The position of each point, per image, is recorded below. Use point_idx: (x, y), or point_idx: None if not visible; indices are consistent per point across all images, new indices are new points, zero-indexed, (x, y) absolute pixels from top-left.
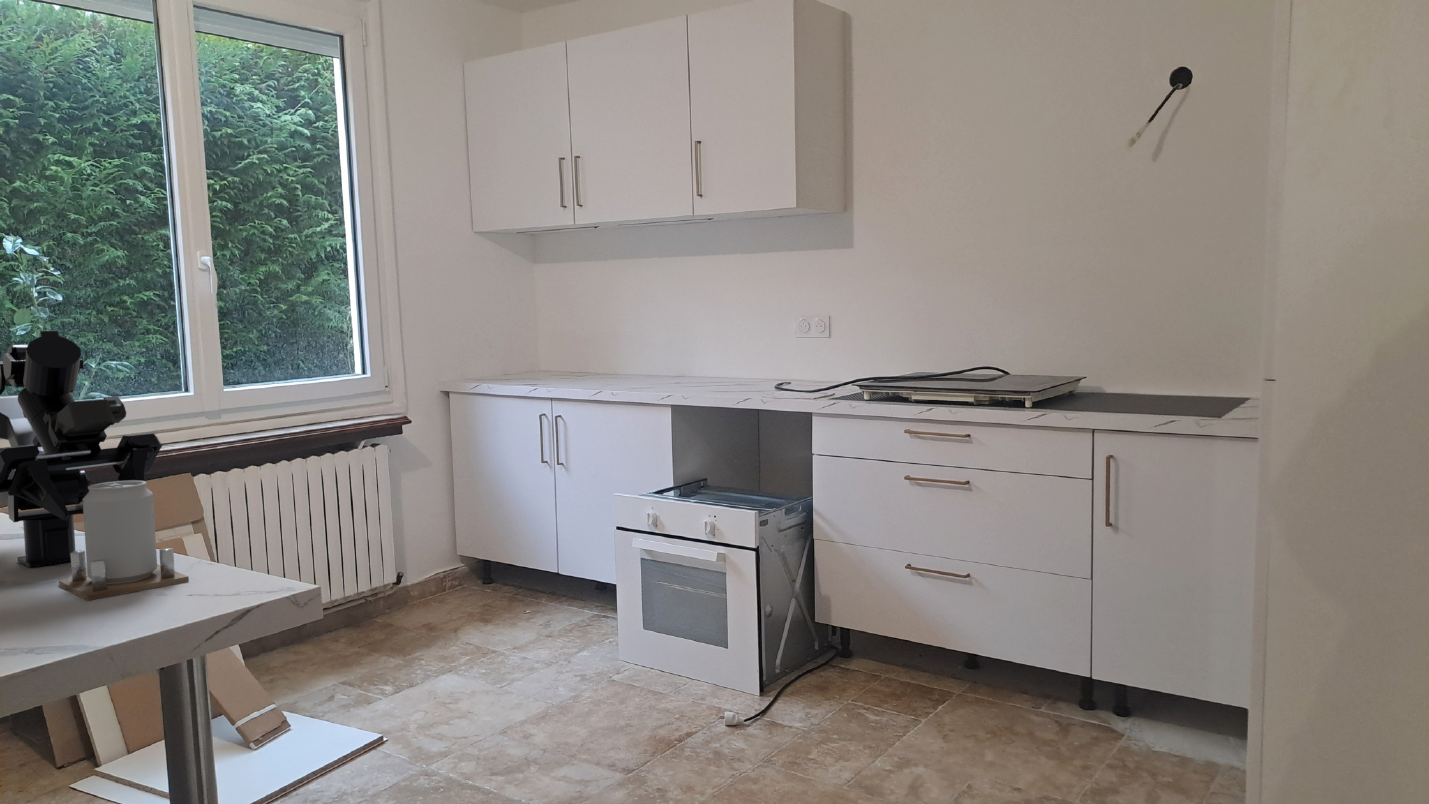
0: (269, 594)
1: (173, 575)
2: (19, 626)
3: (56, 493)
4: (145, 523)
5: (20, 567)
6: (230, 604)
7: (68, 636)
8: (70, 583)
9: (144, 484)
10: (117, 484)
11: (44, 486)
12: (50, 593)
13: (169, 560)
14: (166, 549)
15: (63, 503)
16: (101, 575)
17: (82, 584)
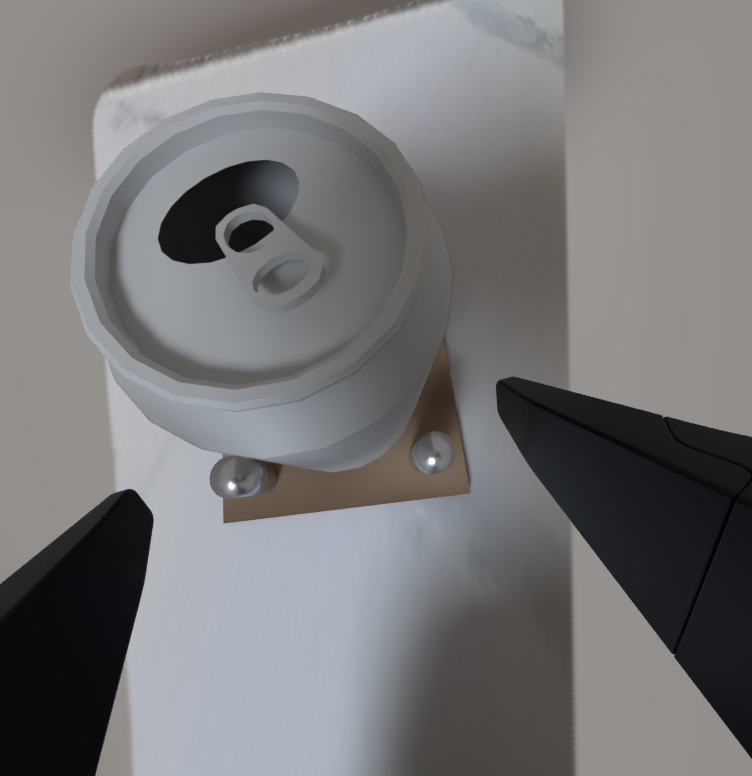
0: (164, 105)
1: None
2: (555, 178)
3: (602, 425)
4: (243, 247)
5: None
6: (239, 88)
7: (488, 74)
8: (449, 428)
9: (122, 156)
10: (242, 258)
11: (728, 437)
12: (491, 414)
13: None
14: None
15: (535, 398)
16: None
17: (426, 395)
